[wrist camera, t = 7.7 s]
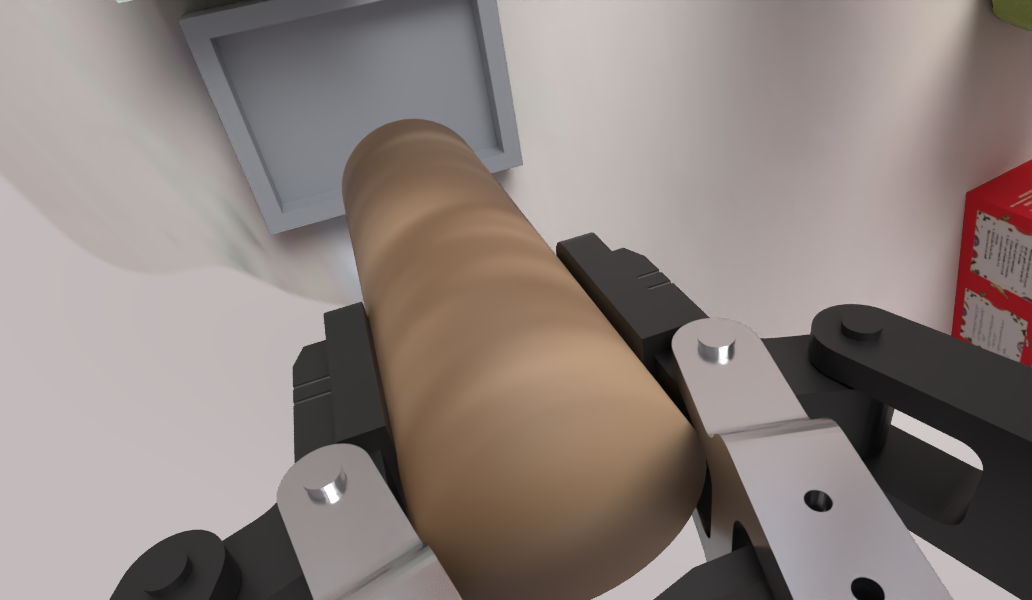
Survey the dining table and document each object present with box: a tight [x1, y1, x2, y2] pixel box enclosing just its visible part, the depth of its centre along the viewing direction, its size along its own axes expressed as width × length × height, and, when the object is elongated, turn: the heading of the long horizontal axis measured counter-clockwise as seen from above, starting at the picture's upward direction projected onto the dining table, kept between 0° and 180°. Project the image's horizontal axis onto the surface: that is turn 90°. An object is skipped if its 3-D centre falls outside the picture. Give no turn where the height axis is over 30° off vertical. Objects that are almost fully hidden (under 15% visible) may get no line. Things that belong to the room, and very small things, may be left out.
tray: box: [178, 0, 523, 235], centre depth 27 cm, size 12×9×2 cm
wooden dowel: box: [342, 119, 707, 600], centre depth 13 cm, size 4×4×12 cm
